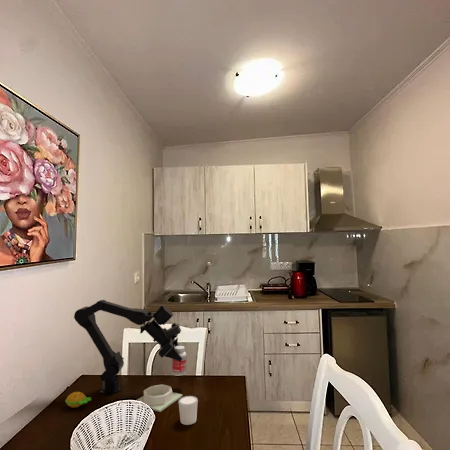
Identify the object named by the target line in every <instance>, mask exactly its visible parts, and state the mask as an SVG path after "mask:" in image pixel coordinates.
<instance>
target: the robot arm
mask: <svg viewBox="0 0 450 450" xmlns="http://www.w3.org/2000/svg"><path fill="white" fill-rule="evenodd" d="M99 311H102V312H105V313H109V314H112V315H115V316H118V317H122V318H125V319H127V320H128V321H130V322H131V323H133V324H135V325H137V326H140V328H139V329H140V332H139V333H140V334H143V333H144V332H146V333H147V334H148V335H149V337H151V338H152V341H153V342H154V343H155V342H156V343H157V344H158V345H159V348H160V349H159V351H158V356H159V357H160V358H163V357H164V358H169V359H175V360H178V361H181V360H182V358H181V356H180V355H179V354H178V352H177V351H176V350H175V347H176V346H180V345H179V342H178V340H179V339H178V336H179V334H181V332H182V330H181V325H179V323H178V324H177V323H176V322H173V323H172V324H171V326H170V327H169V328H168V329H167V328H166V327H162V326H161V325H166V323H168V321H170V320H171V318H172V317H174V313H173V312H172V310H171V309H170V308H168V307H166V306H164V305H163V304H162V305H160V307H158V309H157V310H156V311H155V312H154V311H153V312H152V311H148V310H147V309H145V308H135V307H134V308H131V307H127V306H124V305H120V304H118V303H114V302H110V301H108V300H106V299H100V300H98V301H96V302H95V303H93V304H91V305H90V306H84V307H82V308H80V309H77V310H76V311H75V312H74V315H73V318H74V320H75V322H76V323H77V324H78V325H79V327H81V328H83V329H84V330H85V331H86V332H87V334H88V335H89V337H90V339H91V341H92V342H93V343H94V345H95V347H96V348H97V351H98V352H99V354H100V356H101V358H102V361H103V367H104V371H103V372H102V373H101V375H100V377H99V378H100V379H101V382H102V390H99V394H103V395H106V396H112V395H114V394H115V393H116V394H117V393H118V392H119V391H121V390H122V388H121V387H120V381H119V376H118V374H119V373H120V371H121V370H122V369H123V367H124V365H125V362H124V359H125V358H124V357H123V356H122V354H121V351H117V352H116V351H114V350H113V349H112V347H111V346H110V344H109V342H108V341H107V339H106V337H105V335H104V334H103V332H102V331H101V328H100V327H99V326H98V324H97V321H96V320H97V319H96V315H95V313H97V312H99Z"/></svg>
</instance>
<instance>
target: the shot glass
mask: <svg viewBox="0 0 450 450" xmlns="http://www.w3.org/2000/svg"><path fill="white" fill-rule="evenodd" d="M198 402H199V400H198V397H196V396H193V395H186V396H182V397H181V398H179V399H178V409H179V410H178V411H179V419H180V424H183V425H185V426H189V425H193V424H195V423H196V422H197V420H198V419H197V416H198Z"/></svg>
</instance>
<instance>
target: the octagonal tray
mask: <svg viewBox="0 0 450 450" xmlns="http://www.w3.org/2000/svg"><path fill="white" fill-rule="evenodd" d="M182 397H183V394H181V393H179V392H178V393H177V392H173V390H172V386H170V385H167V384H156V385H155V384H154V385H151V386H149V387H147V388H145V389H144V390H143V396H141V397H139V398H137V399H136V400H139V401H142V402H144V403H146V404H148V405H149V406H150V407H151V408H152V409H153V410H152V411H155V412H159V413H161V412H163V411H164V410H165V409H166V408H168V407H170V406H171V405H172V404H173V403H175V402H176V401H179V399H181V398H182Z"/></svg>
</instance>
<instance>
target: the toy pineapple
mask: <svg viewBox="0 0 450 450" xmlns="http://www.w3.org/2000/svg"><path fill="white" fill-rule="evenodd" d="M64 401H65V404H66V405H67V406H68V407H70V408H72V409H73V408H79V407H80V406H82V405H83V404H88V402H90V401H92V397H89V396H88V397H87V396H86V395H85V394H84V392H81V391H74V392H72V393H70V394H69V395H68V396H67V397H66V398H65V400H64Z"/></svg>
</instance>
